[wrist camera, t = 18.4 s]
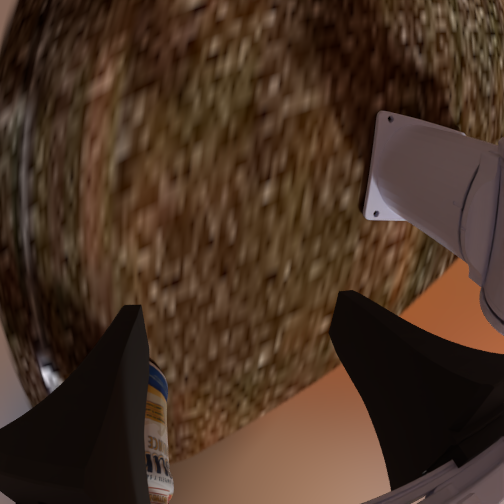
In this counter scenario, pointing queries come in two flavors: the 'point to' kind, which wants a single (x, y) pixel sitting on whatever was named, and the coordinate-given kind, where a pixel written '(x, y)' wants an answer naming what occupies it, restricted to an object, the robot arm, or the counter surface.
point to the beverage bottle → (157, 439)
